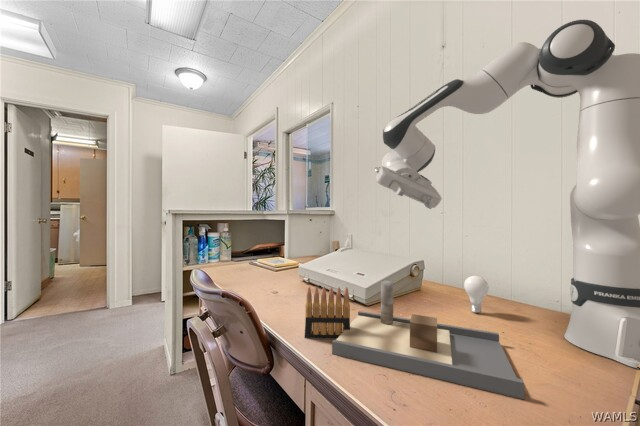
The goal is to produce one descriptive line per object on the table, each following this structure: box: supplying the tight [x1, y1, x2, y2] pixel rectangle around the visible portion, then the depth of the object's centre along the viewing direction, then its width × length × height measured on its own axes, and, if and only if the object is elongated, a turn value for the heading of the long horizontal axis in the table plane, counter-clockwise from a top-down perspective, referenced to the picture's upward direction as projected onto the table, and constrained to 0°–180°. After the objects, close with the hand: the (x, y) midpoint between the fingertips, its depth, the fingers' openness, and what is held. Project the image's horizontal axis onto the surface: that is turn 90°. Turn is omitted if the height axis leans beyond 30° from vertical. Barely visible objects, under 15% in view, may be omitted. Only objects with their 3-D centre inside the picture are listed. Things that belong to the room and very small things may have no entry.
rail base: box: [331, 310, 525, 400], centre depth 57 cm, size 32×20×2 cm, turn 66°
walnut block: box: [410, 313, 438, 353], centre depth 55 cm, size 5×5×5 cm
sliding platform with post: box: [336, 280, 452, 365], centre depth 59 cm, size 22×16×11 cm
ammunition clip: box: [304, 286, 351, 340], centre depth 62 cm, size 11×2×12 cm, turn 89°
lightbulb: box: [463, 275, 490, 314], centre depth 79 cm, size 6×6×11 cm
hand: (416, 199), depth 71 cm, fingers open, 8 cm apart
